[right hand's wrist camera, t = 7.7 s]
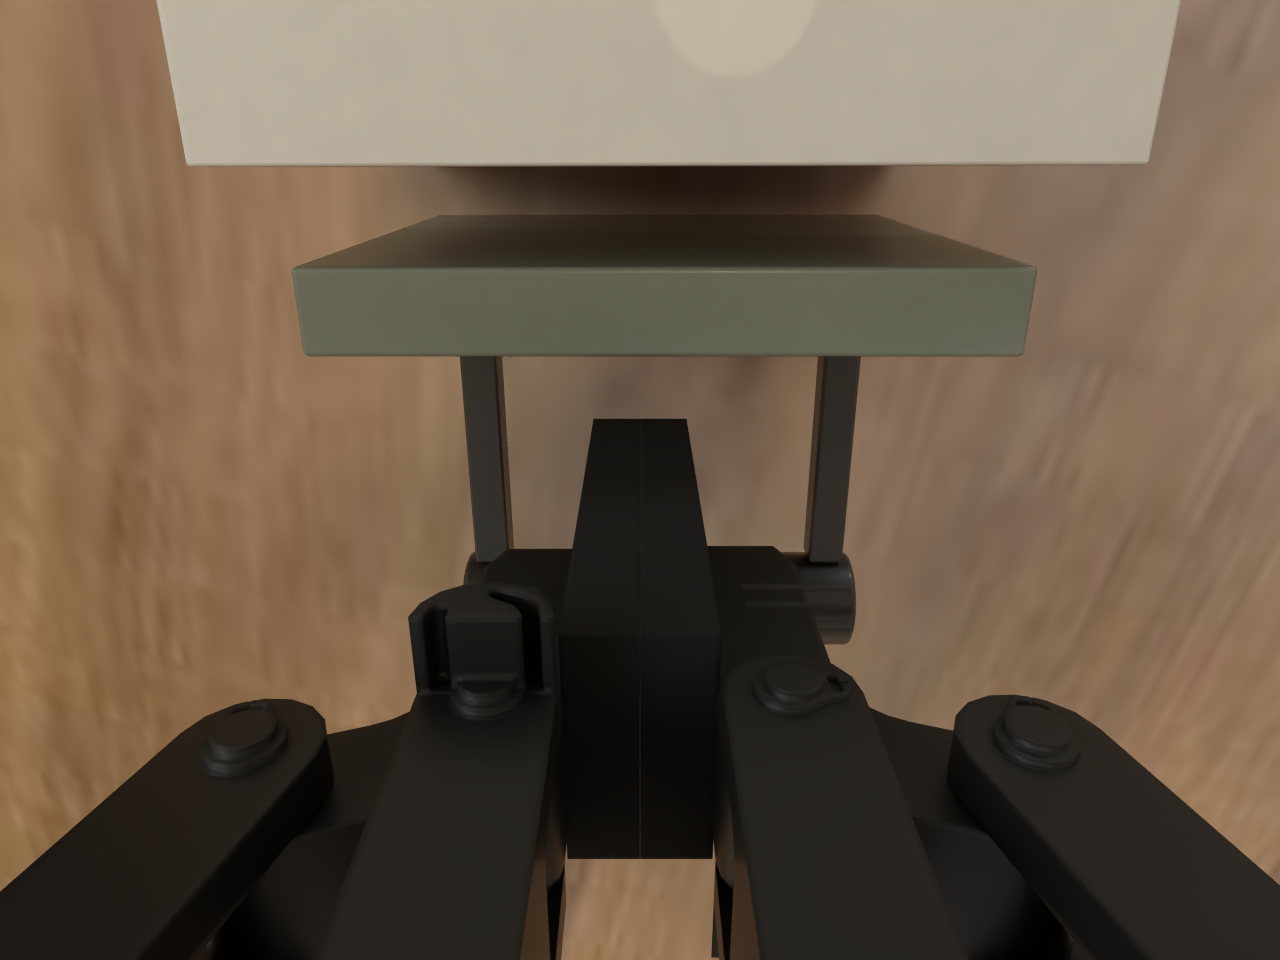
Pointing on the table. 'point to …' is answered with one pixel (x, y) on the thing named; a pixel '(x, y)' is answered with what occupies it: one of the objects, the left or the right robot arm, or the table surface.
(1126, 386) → the table surface
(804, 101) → the cabinet
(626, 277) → the drawer
